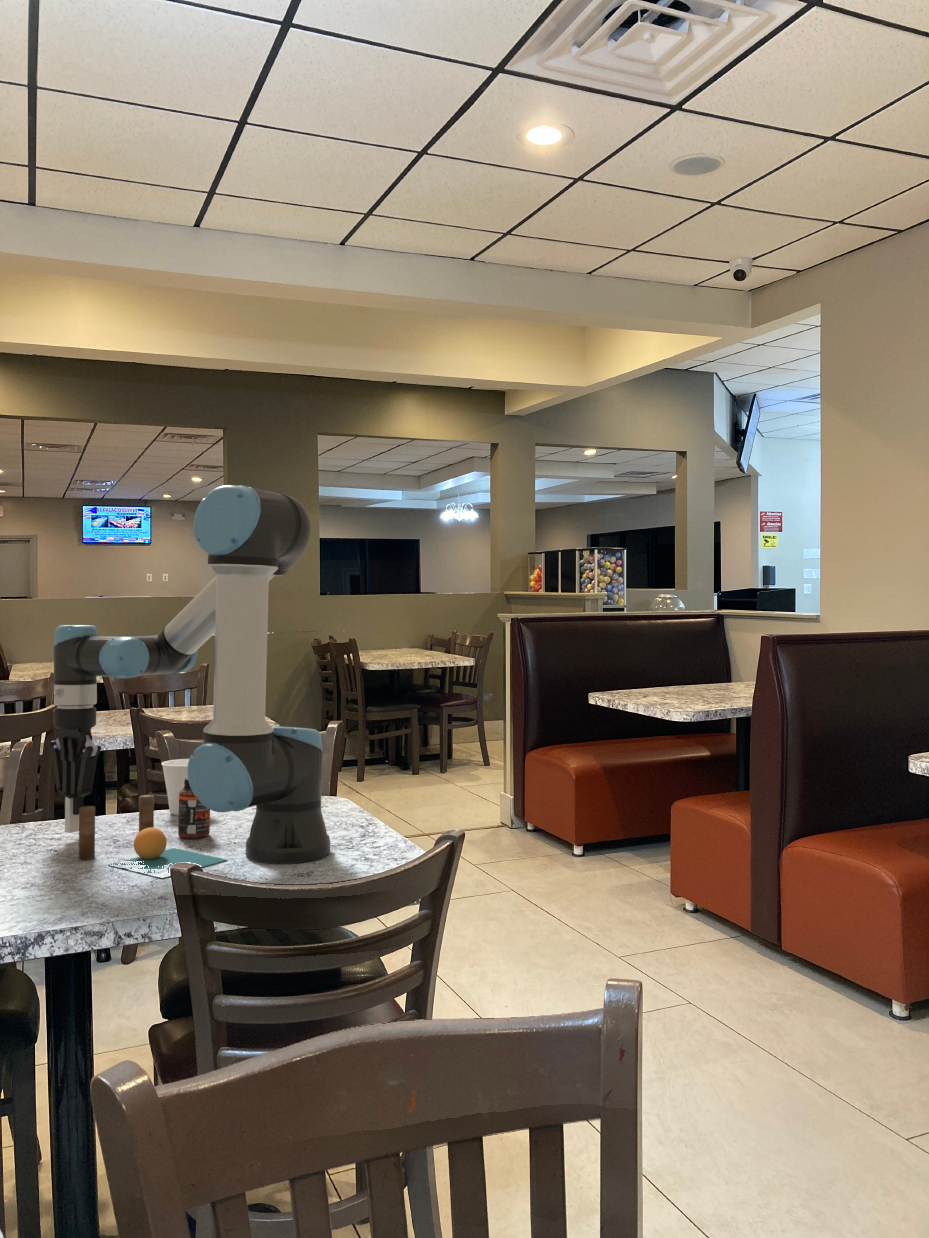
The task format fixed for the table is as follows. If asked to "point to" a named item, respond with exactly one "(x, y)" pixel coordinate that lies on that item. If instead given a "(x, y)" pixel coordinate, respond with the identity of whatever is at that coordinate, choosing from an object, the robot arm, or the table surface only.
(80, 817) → the post left
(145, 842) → the ball
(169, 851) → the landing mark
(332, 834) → the table surface
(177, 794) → the cup
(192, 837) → the supplement bottle
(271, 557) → the robot arm
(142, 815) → the post right
